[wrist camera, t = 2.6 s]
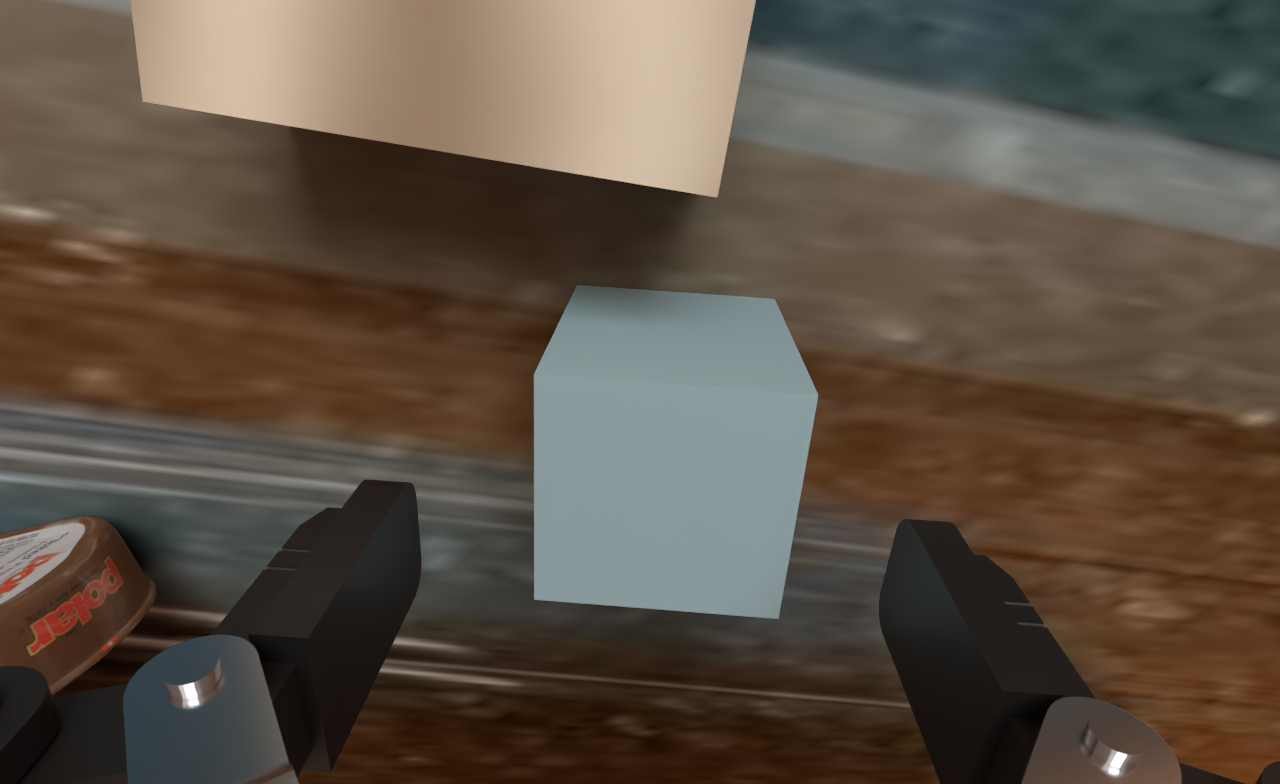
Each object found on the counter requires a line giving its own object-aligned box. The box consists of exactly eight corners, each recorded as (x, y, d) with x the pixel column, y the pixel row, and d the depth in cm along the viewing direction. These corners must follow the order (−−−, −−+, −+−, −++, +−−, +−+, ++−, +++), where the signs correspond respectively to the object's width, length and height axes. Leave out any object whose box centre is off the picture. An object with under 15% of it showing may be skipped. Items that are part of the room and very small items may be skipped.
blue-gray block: (774, 298, 18) (818, 395, 12) (749, 470, 20) (778, 618, 14) (576, 284, 18) (533, 374, 12) (573, 457, 20) (534, 600, 14)
